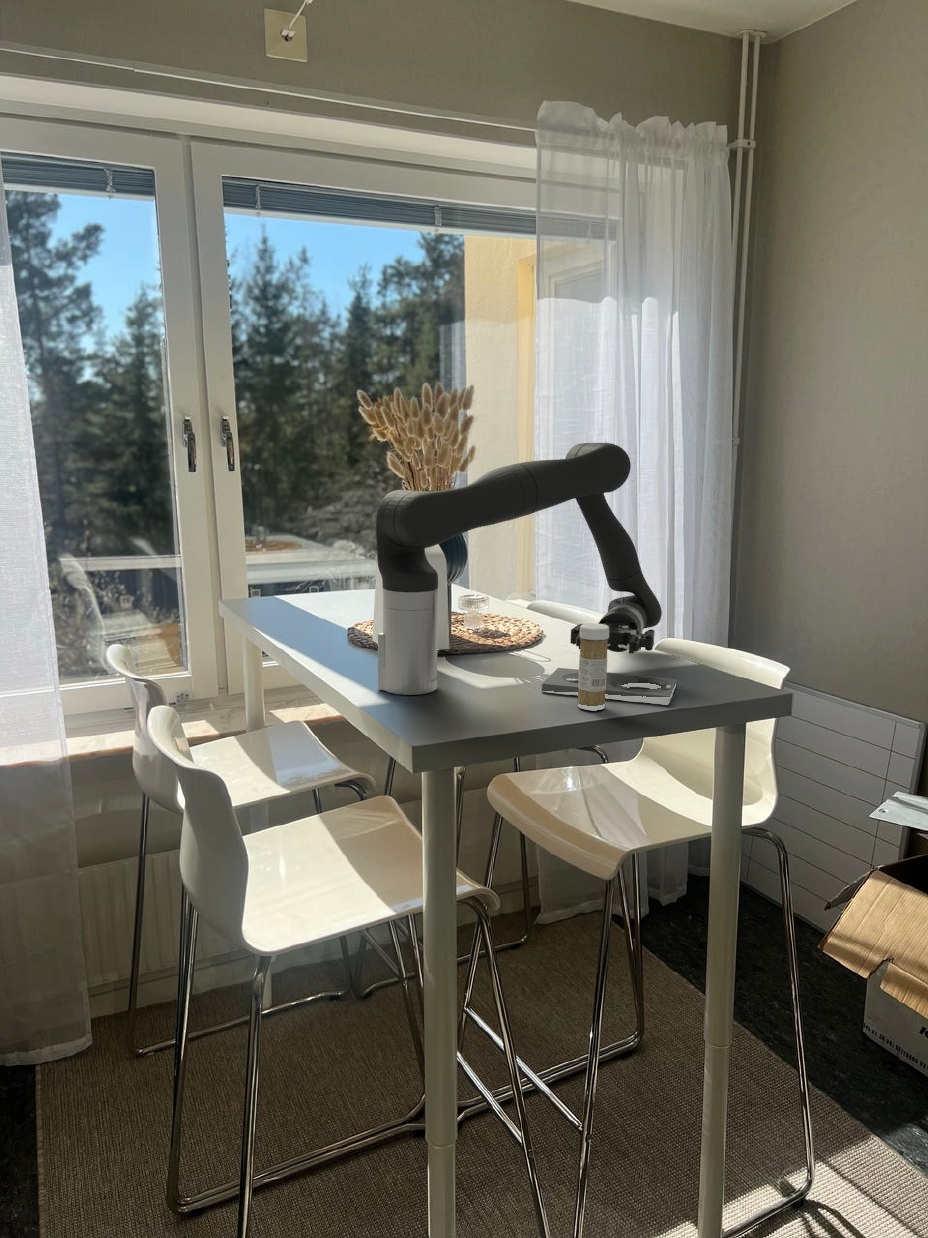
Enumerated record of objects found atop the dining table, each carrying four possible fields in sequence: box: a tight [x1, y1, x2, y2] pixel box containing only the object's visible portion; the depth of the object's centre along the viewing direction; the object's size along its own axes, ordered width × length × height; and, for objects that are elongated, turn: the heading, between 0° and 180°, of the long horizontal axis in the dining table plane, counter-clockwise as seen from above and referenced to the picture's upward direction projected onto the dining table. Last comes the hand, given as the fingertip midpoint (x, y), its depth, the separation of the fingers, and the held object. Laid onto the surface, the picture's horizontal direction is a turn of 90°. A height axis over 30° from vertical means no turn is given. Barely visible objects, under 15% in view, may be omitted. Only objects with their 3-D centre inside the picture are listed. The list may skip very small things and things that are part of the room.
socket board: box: [541, 667, 678, 697], centre depth 155 cm, size 21×12×2 cm, turn 71°
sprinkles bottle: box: [577, 622, 609, 706], centre depth 143 cm, size 5×5×14 cm
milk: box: [371, 544, 450, 650], centre depth 183 cm, size 12×12×26 cm
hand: (605, 645), depth 153 cm, fingers open, 8 cm apart
